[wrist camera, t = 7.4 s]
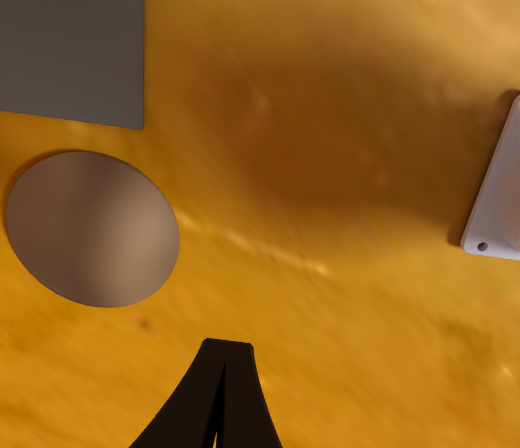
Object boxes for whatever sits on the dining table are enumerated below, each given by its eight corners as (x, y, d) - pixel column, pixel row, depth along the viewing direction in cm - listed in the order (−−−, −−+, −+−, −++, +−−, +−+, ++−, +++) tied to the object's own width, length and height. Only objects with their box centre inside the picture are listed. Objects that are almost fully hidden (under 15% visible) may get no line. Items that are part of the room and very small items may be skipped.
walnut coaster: (184, 161, 20) (181, 165, 19) (177, 307, 24) (175, 316, 23) (3, 138, 20) (-7, 142, 19) (25, 290, 24) (17, 297, 23)
